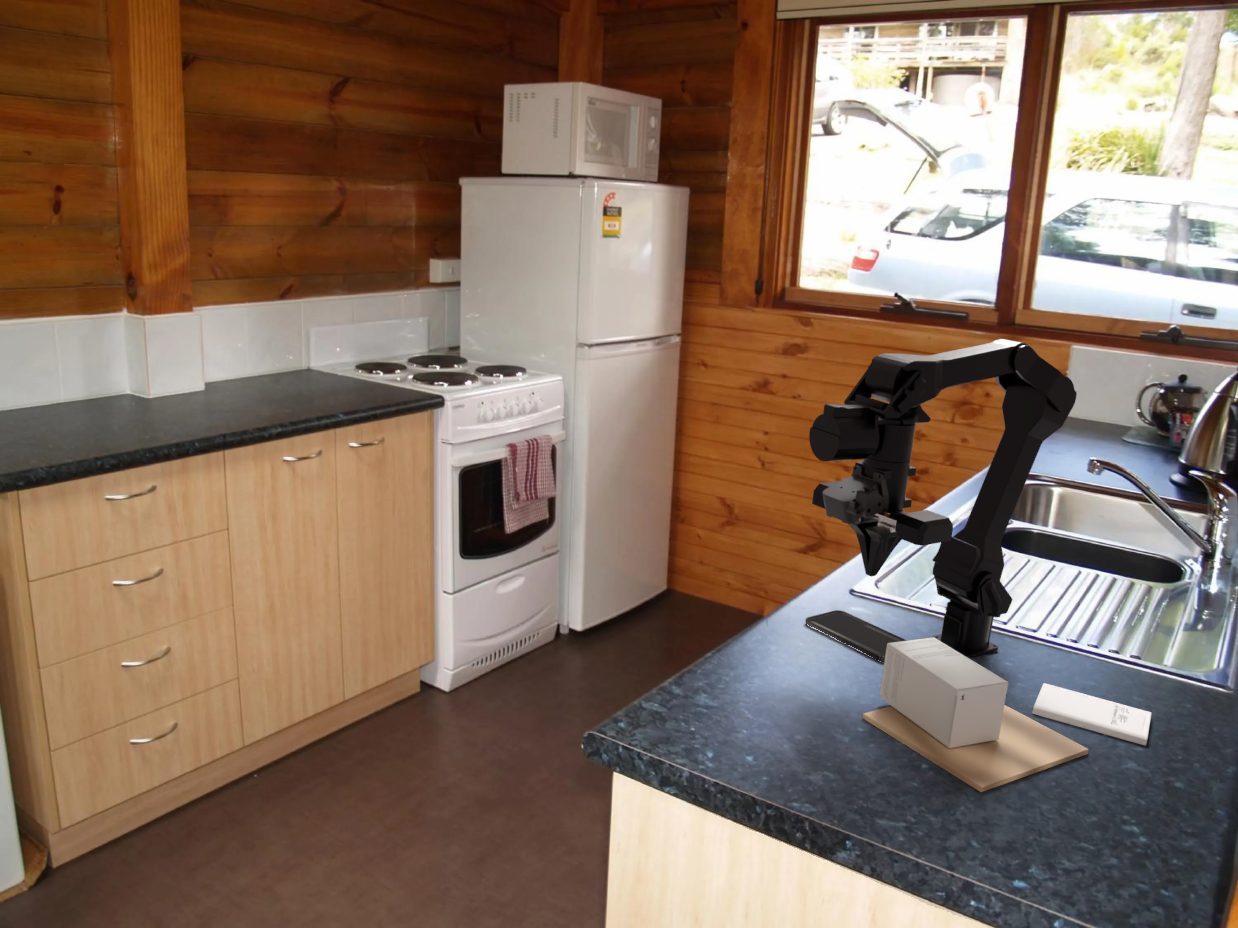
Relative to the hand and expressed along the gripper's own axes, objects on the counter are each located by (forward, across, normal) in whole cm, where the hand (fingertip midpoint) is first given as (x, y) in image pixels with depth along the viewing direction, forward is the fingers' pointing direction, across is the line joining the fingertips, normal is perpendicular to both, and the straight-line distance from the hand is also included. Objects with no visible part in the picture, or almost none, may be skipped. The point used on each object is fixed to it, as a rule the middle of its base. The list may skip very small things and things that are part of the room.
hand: (870, 575), depth 130 cm
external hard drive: (+13, +23, +16) cm, 31 cm away
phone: (+13, -6, +7) cm, 16 cm away
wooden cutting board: (+12, +20, -2) cm, 23 cm away
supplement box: (+8, +9, -2) cm, 13 cm away
